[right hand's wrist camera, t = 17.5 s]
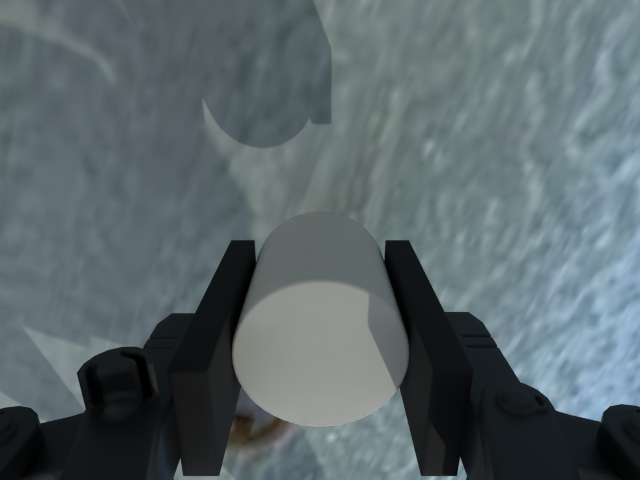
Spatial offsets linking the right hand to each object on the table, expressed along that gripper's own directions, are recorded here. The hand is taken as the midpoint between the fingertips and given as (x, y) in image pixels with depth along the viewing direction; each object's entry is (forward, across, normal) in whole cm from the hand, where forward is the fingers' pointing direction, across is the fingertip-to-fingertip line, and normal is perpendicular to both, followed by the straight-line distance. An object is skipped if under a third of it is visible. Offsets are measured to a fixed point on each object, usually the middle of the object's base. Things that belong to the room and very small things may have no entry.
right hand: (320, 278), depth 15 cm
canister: (0, 0, 0) cm, 0 cm away
